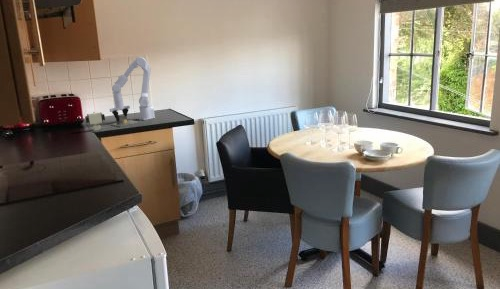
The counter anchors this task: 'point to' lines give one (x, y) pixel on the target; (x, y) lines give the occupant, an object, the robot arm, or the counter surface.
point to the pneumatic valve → (95, 120)
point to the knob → (121, 118)
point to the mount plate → (125, 123)
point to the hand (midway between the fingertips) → (121, 120)
